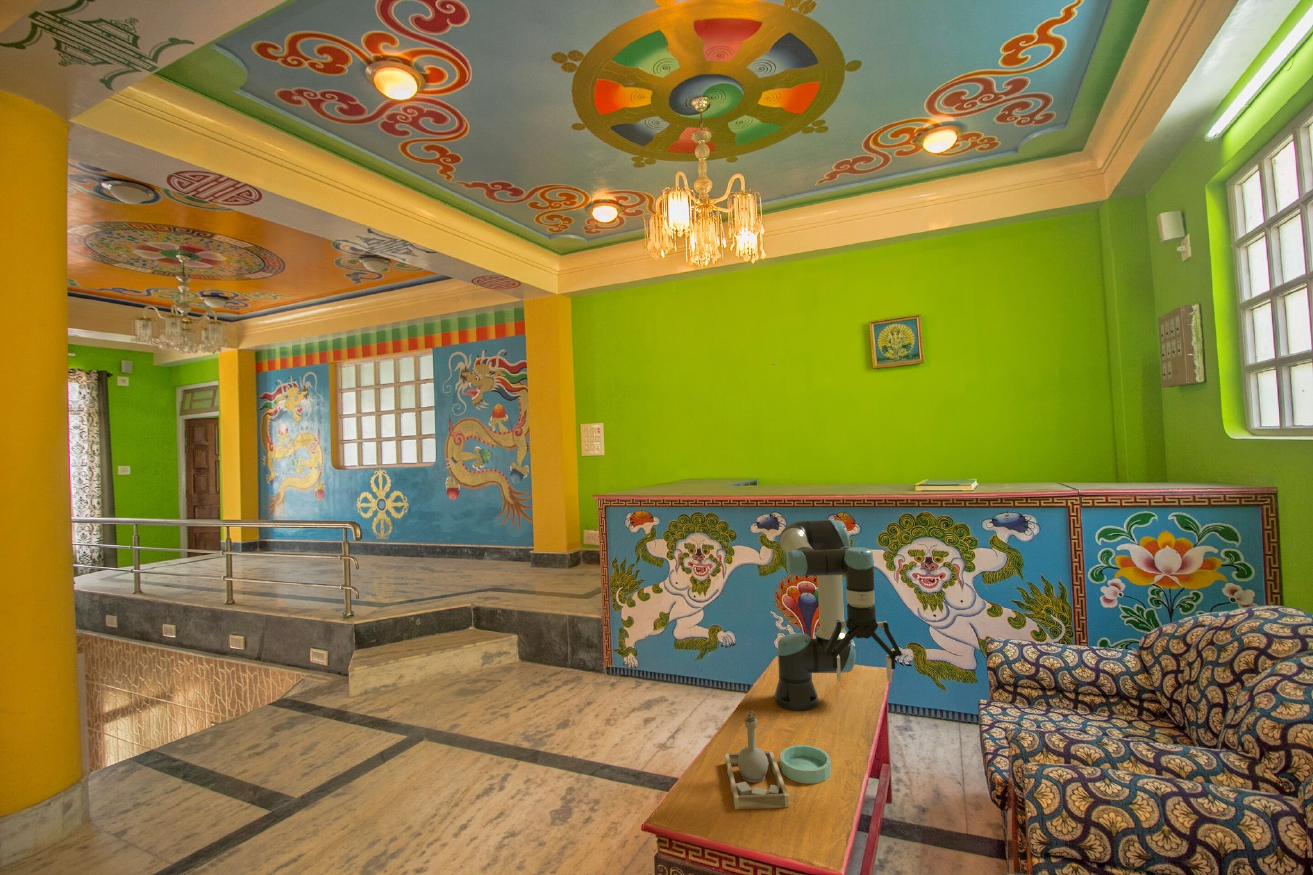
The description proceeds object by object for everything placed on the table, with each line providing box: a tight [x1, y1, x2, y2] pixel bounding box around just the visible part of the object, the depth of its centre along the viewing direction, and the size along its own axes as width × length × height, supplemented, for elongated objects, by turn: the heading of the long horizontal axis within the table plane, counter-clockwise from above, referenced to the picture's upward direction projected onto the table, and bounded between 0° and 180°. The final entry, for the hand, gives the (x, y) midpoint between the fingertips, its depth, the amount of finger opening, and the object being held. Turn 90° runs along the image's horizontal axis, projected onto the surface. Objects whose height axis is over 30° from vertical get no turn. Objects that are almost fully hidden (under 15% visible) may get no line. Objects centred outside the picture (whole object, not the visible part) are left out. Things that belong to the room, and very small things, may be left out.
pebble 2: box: [768, 784, 781, 794], centre depth 161 cm, size 4×2×2 cm
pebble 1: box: [752, 786, 768, 795], centre depth 160 cm, size 4×3×2 cm
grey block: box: [735, 781, 753, 795], centre depth 163 cm, size 4×3×2 cm
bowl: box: [779, 744, 832, 785], centre depth 173 cm, size 14×14×4 cm
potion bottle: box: [737, 710, 770, 784], centre depth 171 cm, size 9×9×18 cm
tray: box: [724, 750, 790, 810], centre depth 167 cm, size 22×14×3 cm, turn 0°
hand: (864, 679), depth 169 cm, fingers open, 13 cm apart
